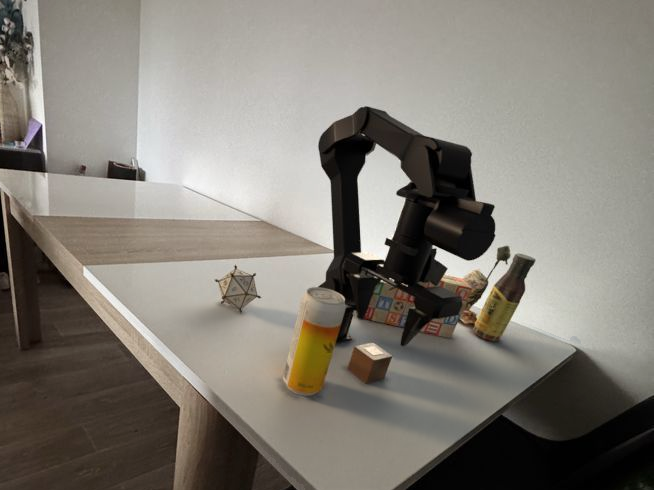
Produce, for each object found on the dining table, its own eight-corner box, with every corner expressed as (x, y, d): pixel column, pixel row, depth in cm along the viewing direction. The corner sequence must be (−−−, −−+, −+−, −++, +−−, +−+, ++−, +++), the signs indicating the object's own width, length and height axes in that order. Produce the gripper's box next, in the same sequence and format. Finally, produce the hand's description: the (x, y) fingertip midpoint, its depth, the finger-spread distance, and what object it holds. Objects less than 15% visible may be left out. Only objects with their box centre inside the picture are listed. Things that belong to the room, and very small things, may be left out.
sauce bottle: (468, 327, 95) (504, 248, 86) (494, 334, 94) (533, 255, 86) (475, 338, 89) (514, 255, 81) (503, 346, 89) (546, 263, 80)
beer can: (327, 397, 58) (355, 305, 51) (289, 398, 56) (313, 303, 49) (313, 373, 63) (336, 287, 56) (277, 373, 61) (297, 284, 54)
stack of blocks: (357, 318, 87) (373, 265, 81) (354, 307, 92) (370, 257, 87) (451, 338, 87) (474, 287, 81) (443, 326, 92) (463, 277, 87)
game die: (241, 322, 82) (277, 293, 79) (219, 320, 74) (257, 288, 71) (221, 289, 85) (255, 259, 81) (197, 283, 77) (233, 251, 74)
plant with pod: (466, 311, 106) (498, 239, 97) (486, 330, 96) (524, 251, 87) (437, 305, 105) (467, 232, 96) (455, 324, 95) (490, 244, 86)
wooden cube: (365, 383, 63) (374, 360, 61) (347, 368, 66) (354, 345, 64) (384, 378, 66) (392, 355, 64) (365, 364, 69) (373, 342, 67)
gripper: (503, 258, 54) (459, 353, 61) (399, 220, 67) (372, 302, 74) (459, 259, 48) (415, 366, 54) (354, 217, 61) (329, 308, 67)
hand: (380, 331), depth 63 cm, fingers open, 9 cm apart
